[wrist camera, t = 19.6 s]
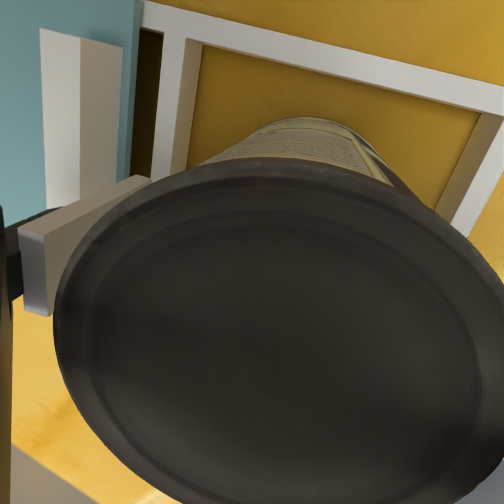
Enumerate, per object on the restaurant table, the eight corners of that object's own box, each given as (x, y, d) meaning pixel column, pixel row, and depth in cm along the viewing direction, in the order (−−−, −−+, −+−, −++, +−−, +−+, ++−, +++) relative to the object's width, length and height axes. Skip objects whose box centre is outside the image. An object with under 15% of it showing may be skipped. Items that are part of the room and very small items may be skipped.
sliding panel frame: (-136, -62, 19) (-198, -83, 16) (513, 96, 16) (544, 96, 14) (-77, 215, 26) (-116, 227, 23) (382, 353, 23) (388, 380, 21)
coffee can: (436, 175, 18) (689, 360, 6) (328, 313, 23) (335, 586, 10) (264, 74, 18) (122, 35, 5) (188, 236, 22) (15, 423, 10)
